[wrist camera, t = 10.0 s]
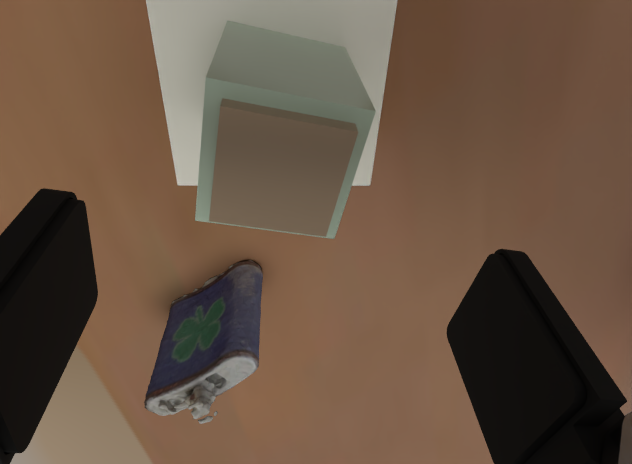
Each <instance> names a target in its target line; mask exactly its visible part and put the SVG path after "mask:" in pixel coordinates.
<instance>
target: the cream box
mask: <svg viewBox="0 0 632 464" xmlns="http://www.w3.org/2000/svg"><path fill="white" fill-rule="evenodd" d="M146 4H147V10H148V16H149V22H150V27H151V33H152V39H153V45H154V50H155V56H156V62H157V68H158V74H159V79H160V85H161V91H162V97H163V103H164V108H165V114H166V120H167V126H168V131H169V137H170V143H171V149H172V155H173V160H174V166H175V172H176V178H177V184H178V185H198V175H199V161H200V148H201V135H202V121H203V108H204V94H205V81H206V75H207V73H208V70H209V67H210V65H211V62H212V60H213V57H214V54H215V52H216V49H217V46H218V44H219V41H220V39H221V36H222V33H223V31H224V28H225V25H226V23H227V21H232V22H236V23H241V24H245V25H249V26H254V27H258V28H263V29H267V30H271V31H276V32H280V33H285V34H289V35H293V36H298V37H302V38H307V39H311V40H315V41H320V42H324V43H329V44H333V45H337V46H342V47H345V48H346V50H347V52H348V54H349V56H350V58H351V60H352V62H353V64H354V67H355V69H356V71H357V73H358V75H359V77H360V79H361V81H362V83H363V85H364V87H365V89H366V92H367V94H368V96H369V98H370V100H371V102H372V104H373V106H374V108H375V110H376V112H375V115H374V119H373V122H372V125H371V128H370V131H369V134H368V137H367V140H366V143H365V146H364V149H363V152H362V155H361V158H360V161H359V165H358V168H357V171H356V174H355V177H354V180H353V183H352V186H370V183H371V177H372V170H373V163H374V156H375V150H376V143H377V136H378V129H379V122H380V116H381V109H382V102H383V95H384V88H385V82H386V75H387V68H388V61H389V54H390V48H391V41H392V34H393V27H394V20H395V14H396V7H397V0H146Z"/></svg>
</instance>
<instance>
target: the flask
mask: <svg viewBox="0 0 632 464" xmlns="http://www.w3.org/2000/svg"><path fill="white" fill-rule="evenodd" d="M262 278H263V273H262V270H261V268H260V266H259V265H258V264H256V263H255V262H253V261H252V260H248V261H244V262H239V263H237V264H234V265H231V266H230V267H229V270H227V271H226V272H224V273H222V274H219V275H218V276H215V277H213V278H210V279H209V280H208V281H206V283H205V284H204V286H203V288H201V289H195V290H194V291H193V292H192V293H191V294H189V295H184V296H183V297H181V298H179V299H177V300H175V301H173V302H172V304H171V308H170V313H169V318H168V321H167V325H166V328H165V331H164V334H163V338H162V340H161V343H160V348H159V352H158V357H157V360H156V363H155V367H154V370H153V374H152V376H151V381H150V384H149V386H148V391H147V393H146V399H145V402H144V403H145V408H146V409H147V410H149V411H152V412H153V413H156V414H158V415H163V416H166V415H169V414H175V413H178V412H179V411H180V410H184V409H186V408H188V409H189V410H190V409H192V408H193V411H192V412H191V413H192V415H193V417H194V418H193V419H197V418H200V417H202V416H203V415H207V414H208V413H209V411H210V406H211V404H212V403H213V402H214V401H215V397H216V396H218V395H220V394H222V393H223V392H225V391H227V390H228V389H230V388H232V387H234V386H235V385H236V384H238V383H239V382H241V381H242V380H244V379H246V378H247V377H248V376H249V375H250V374H252V373H254V372H255V370H256V369H257V368H258V366H259V335H260V316H261V307H260V304H261V291H262ZM216 415H217V411H216V412H214V416H216ZM212 419H213V417H211V416H207V417H206V418H204V419H201V420H198V421H199V423H201V424H202V423H206V422H210V421H211V420H212Z"/></svg>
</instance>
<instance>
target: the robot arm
mask: <svg viewBox="0 0 632 464" xmlns="http://www.w3.org/2000/svg"><path fill="white" fill-rule="evenodd" d="M97 295H98V289H97V282H96V275H95V268H94V261H93V254H92V247H91V240H90V233H89V226H88V219H87V212H86V206H85V203H84V201H82V200H77V197H76V195H75V194H74V193H73V192H67V191H59V190H52V189H41V190H40V191H38V192H37V194H36V195H35V196H34V197H33V198H32V199H31V200H30V202H29V203H28V204H27V205H26V206H25V207H24V209H23V210H22V211H21V212H20V213H19V214H18V215H17V217H16V218H15V219H14V220H13V221H12V222H11V224H10V225H9V226H8V227H7V228H6V229H5V231H4V232H3V233H2V234H1V235H0V464H10V462H11V460H12V458H13V456H14V454H15V453H22V452H23V451H25V449H26V448H27V446H28V445H29V443H30V441H31V439H32V437H33V435H34V433H35V430H36V428H37V426H38V424H39V422H40V420H41V418H42V416H43V414H44V412H45V410H46V407H47V405H48V403H49V401H50V399H51V397H52V395H53V392H54V391H55V388H56V386H57V384H58V382H59V380H60V378H61V376H62V374H63V372H64V369H65V368H66V365H67V363H68V361H69V359H70V357H71V355H72V353H73V351H74V349H75V347H76V345H77V342H78V340H79V338H80V336H81V334H82V332H83V330H84V328H85V326H86V324H87V321H88V319H89V317H90V315H91V313H92V311H93V309H94V307H95V304H96V301H97ZM447 338H448V341H449V344H450V346H451V349H452V352H453V355H454V357H455V360H456V363H457V365H458V368H459V371H460V373H461V376H462V379H463V381H464V384H465V387H466V390H467V392H468V395H469V398H470V400H471V403H472V406H473V408H474V411H475V414H476V417H477V419H478V422H479V425H480V427H481V430H482V433H483V435H484V438H485V441H486V443H487V446H488V449H489V452H490V454H491V457H492V460H493V462H494V464H632V412H630V413H628V414H626V415H625V416H624V415H623V413H622V411H621V410H620V407H621V406H622V405H624V404H625V403H626V402H627V400H626V398H625V397H624V396H623V394H622V393H621V391H620V390H619V388H618V387H617V385H616V384H615V382H614V381H613V379H612V378H611V377H610V375H609V374H608V372H607V371H606V369H605V368H604V366H603V365H602V363H601V362H600V361H599V359H598V358H597V356H596V355H595V353H594V352H593V350H592V349H591V347H590V346H589V345H588V343H587V342H586V340H585V339H584V337H583V336H582V334H581V333H580V331H579V330H578V328H577V327H576V326H575V324H574V323H573V321H572V320H571V318H570V317H569V315H568V314H567V312H566V311H565V310H564V308H563V307H562V305H561V304H560V302H559V301H558V299H557V298H556V296H555V295H554V294H553V292H552V291H551V289H550V288H549V286H548V285H547V283H546V282H545V280H544V279H543V277H542V276H541V275H540V273H539V272H538V270H537V269H536V267H535V266H534V264H533V263H532V261H531V260H530V259H529V257H528V256H527V255H526V254H525V253H524V252H521V251H513V250H506V249H499V250H497V251H496V252H495V253H494V254H491V255H489V256H488V257H487V259H486V261H485V262H484V264H483V266H482V267H481V269H480V271H479V273H478V274H477V276H476V278H475V279H474V281H473V283H472V285H471V286H470V288H469V290H468V291H467V293H466V295H465V297H464V298H463V300H462V302H461V303H460V305H459V307H458V309H457V310H456V312H455V314H454V315H453V317H452V319H451V321H450V322H449V324H448V327H447Z"/></svg>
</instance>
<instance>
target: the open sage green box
mask: <svg viewBox="0 0 632 464" xmlns="http://www.w3.org/2000/svg"><path fill="white" fill-rule="evenodd" d="M375 112H376V110H375V108H374V106H373V104H372V102H371V100H370V98H369V96H368V94H367V92H366V89H365V87H364V85H363V83H362V81H361V79H360V77H359V75H358V73H357V71H356V69H355V67H354V64H353V62H352V60H351V58H350V56H349V54H348V52H347V50H346V48H345V47H342V46H337V45H333V44H329V43H324V42H320V41H315V40H311V39H307V38H302V37H298V36H293V35H289V34H285V33H280V32H276V31H271V30H267V29H263V28H258V27H254V26H249V25H245V24H241V23H236V22H232V21H227V23H226V25H225V28H224V31H223V33H222V36H221V39H220V41H219V44H218V46H217V49H216V52H215V54H214V57H213V60H212V62H211V65H210V67H209V70H208V73H207V75H206V81H205V94H204V108H203V121H202V135H201V148H200V161H199V175H198V188H197V202H196V215H195V221H203V222H210V223H218V224H225V225H233V226H240V227H248V228H255V229H263V230H270V231H278V232H285V233H293V234H300V235H308V236H316V237H323V238H331V239H334V238H335V235H336V232H337V229H338V226H339V223H340V220H341V217H342V214H343V211H344V208H345V204H346V201H347V198H348V195H349V192H350V189H351V186H352V183H353V180H354V177H355V174H356V171H357V168H358V165H359V161H360V158H361V155H362V152H363V149H364V146H365V143H366V140H367V137H368V134H369V131H370V128H371V125H372V122H373V119H374V115H375Z"/></svg>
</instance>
